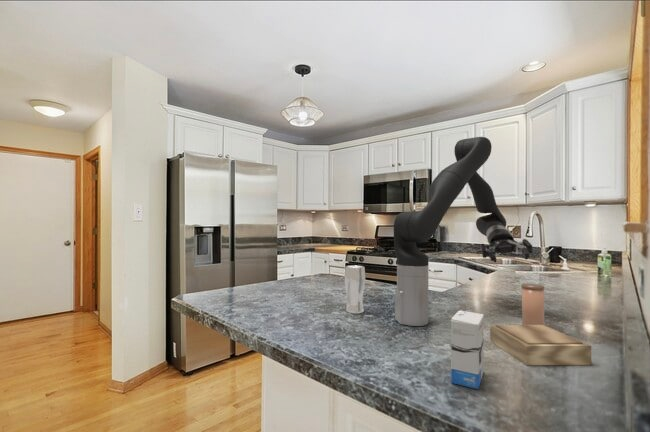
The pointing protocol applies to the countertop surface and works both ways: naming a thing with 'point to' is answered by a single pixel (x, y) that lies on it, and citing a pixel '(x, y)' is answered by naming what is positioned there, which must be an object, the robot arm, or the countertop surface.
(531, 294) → the canister
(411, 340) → the countertop surface
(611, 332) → the countertop surface
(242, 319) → the countertop surface
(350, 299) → the beer glass
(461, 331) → the ink box
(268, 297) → the countertop surface
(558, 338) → the base block
